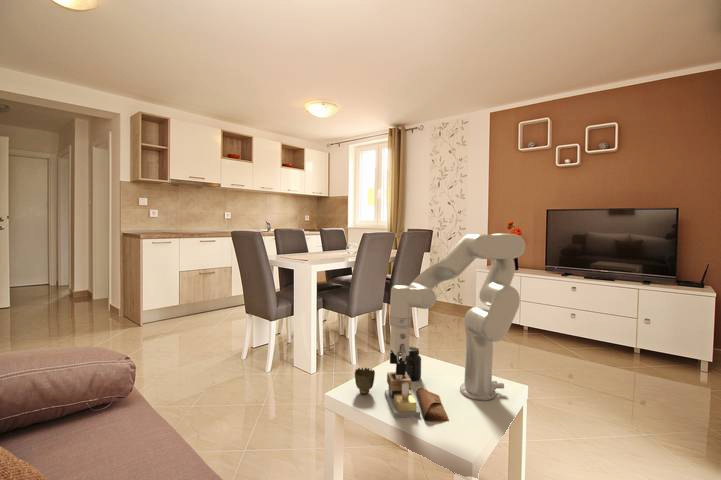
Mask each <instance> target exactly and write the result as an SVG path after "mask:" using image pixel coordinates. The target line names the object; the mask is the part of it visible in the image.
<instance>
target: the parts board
mask: <svg viewBox="0 0 721 480" xmlns="http://www.w3.org/2000/svg"><path fill="white" fill-rule="evenodd" d="M409 394H411V393H410V392H409ZM384 396H385V398H386V400H387V401H386V402H387V403H388V406H389V409H390V411H391V413H392V415H393V418H394V419H399V418H401V419H402V418H417V417H418V418H420V417H421V411H420V409H419V407H418V405H417V404H416V412H398V411H397V409H396V407H395V404H394V399H392V398H391V395H390V393H389V391H388V389H384Z"/></svg>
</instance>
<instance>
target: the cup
mask: <svg viewBox="0 0 721 480" xmlns="http://www.w3.org/2000/svg"><path fill="white" fill-rule="evenodd" d="M375 375H376V371H375V370H374V369H372V368H369V367H368V368H367V367H365V368H364V367H362V368H359V367H358V368H356V369H355V370H354V379H355V380H354V381H355V385H356V388H357V389H358V390H359V391H358V392H359V393H360V395H368V394H369V393H370V390H371V389H372V388H373V386H374V383H375V382H374V381H375V377H376V376H375Z"/></svg>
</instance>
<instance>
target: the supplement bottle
mask: <svg viewBox="0 0 721 480" xmlns="http://www.w3.org/2000/svg"><path fill="white" fill-rule="evenodd" d="M419 354H420V349H419V348H418V347H415V346H414V347H413V346H409V356H406V371H405V372H407V374H408V376H409V377H410V379H411V382H412V383H413V382H419V381H420V380H421V378H422V357H421V356H420V355H419Z"/></svg>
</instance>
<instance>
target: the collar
mask: <svg viewBox="0 0 721 480" xmlns="http://www.w3.org/2000/svg"><path fill="white" fill-rule="evenodd" d="M386 374H387V375H386V383H387V384H388V388H389V387H390V390H391V391H401V390H402V384H403V383H404V382H406V383H408V384H409V391H412V381H411V379H410V377H409V376H408V374H407V372H405V375H402V379H396V371H395V372H393V371H392V372H386Z"/></svg>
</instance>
